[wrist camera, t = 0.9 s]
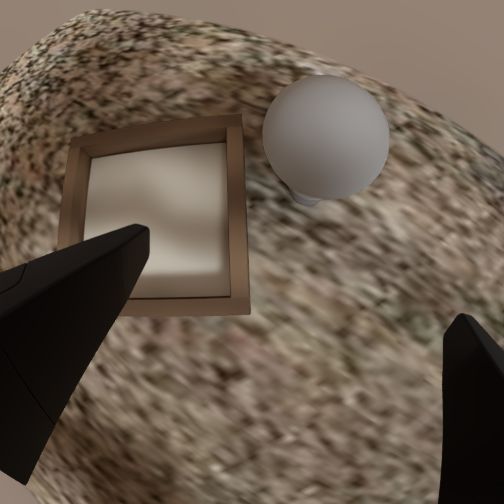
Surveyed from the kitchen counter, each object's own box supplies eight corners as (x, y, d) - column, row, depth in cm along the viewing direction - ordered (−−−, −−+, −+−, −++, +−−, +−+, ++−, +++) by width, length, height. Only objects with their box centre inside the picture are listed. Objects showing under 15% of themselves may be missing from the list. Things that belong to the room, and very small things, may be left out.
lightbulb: (269, 240, 22) (277, 176, 11) (256, 158, 23) (252, 52, 12) (355, 228, 22) (428, 163, 11) (337, 150, 23) (381, 50, 12)
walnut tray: (250, 313, 21) (249, 314, 18) (76, 314, 21) (55, 314, 19) (243, 134, 23) (241, 114, 20) (87, 153, 23) (71, 138, 21)
